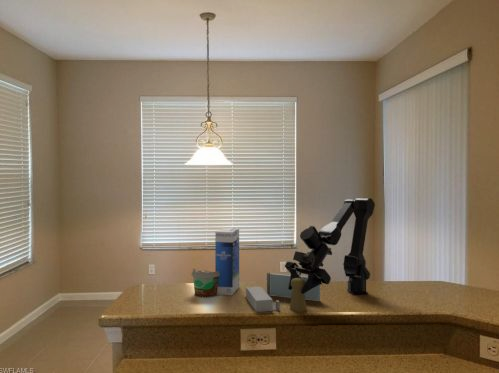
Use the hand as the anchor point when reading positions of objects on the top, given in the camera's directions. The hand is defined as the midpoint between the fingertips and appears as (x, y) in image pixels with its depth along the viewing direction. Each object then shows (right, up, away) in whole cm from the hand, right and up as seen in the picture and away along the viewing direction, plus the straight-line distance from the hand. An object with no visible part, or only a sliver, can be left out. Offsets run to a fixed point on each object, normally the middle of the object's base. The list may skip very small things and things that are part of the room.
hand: (295, 291), depth 138 cm
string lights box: (-25, -7, +25) cm, 36 cm away
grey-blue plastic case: (-11, -7, +8) cm, 15 cm away
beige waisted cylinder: (+1, -7, +1) cm, 7 cm away
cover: (+2, -6, +14) cm, 16 cm away
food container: (-35, -7, +18) cm, 40 cm away
